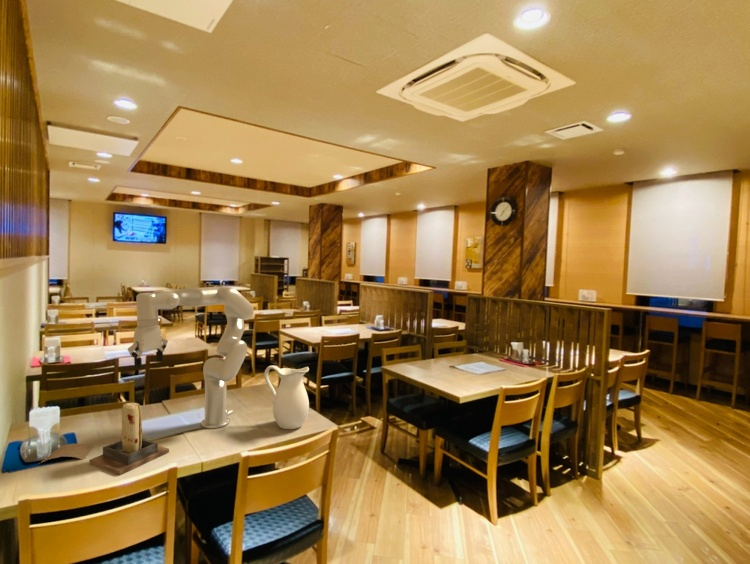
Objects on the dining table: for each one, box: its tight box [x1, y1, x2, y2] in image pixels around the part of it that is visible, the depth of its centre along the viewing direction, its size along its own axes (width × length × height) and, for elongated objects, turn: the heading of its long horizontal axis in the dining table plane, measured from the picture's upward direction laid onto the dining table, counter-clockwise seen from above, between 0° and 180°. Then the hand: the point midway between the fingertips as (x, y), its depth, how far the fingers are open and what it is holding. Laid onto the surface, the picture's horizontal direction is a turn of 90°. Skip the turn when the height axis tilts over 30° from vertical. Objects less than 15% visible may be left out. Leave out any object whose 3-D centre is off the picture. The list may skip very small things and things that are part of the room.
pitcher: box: [263, 365, 310, 430], centre depth 195 cm, size 24×17×28 cm
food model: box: [121, 402, 143, 454], centre depth 158 cm, size 10×7×20 cm
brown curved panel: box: [38, 443, 95, 465], centre depth 158 cm, size 16×11×3 cm
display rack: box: [88, 438, 170, 476], centre depth 158 cm, size 20×18×5 cm
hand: (149, 364), depth 166 cm, fingers open, 9 cm apart
